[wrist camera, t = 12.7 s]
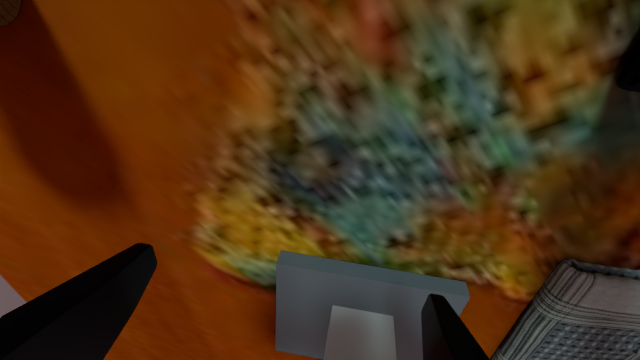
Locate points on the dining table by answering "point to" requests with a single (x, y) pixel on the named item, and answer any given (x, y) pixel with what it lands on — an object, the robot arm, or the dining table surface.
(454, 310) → the robot arm
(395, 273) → the slate board
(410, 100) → the dining table surface
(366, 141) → the dining table surface
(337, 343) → the white cube
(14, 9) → the disposable coffee cup
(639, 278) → the dish towel
